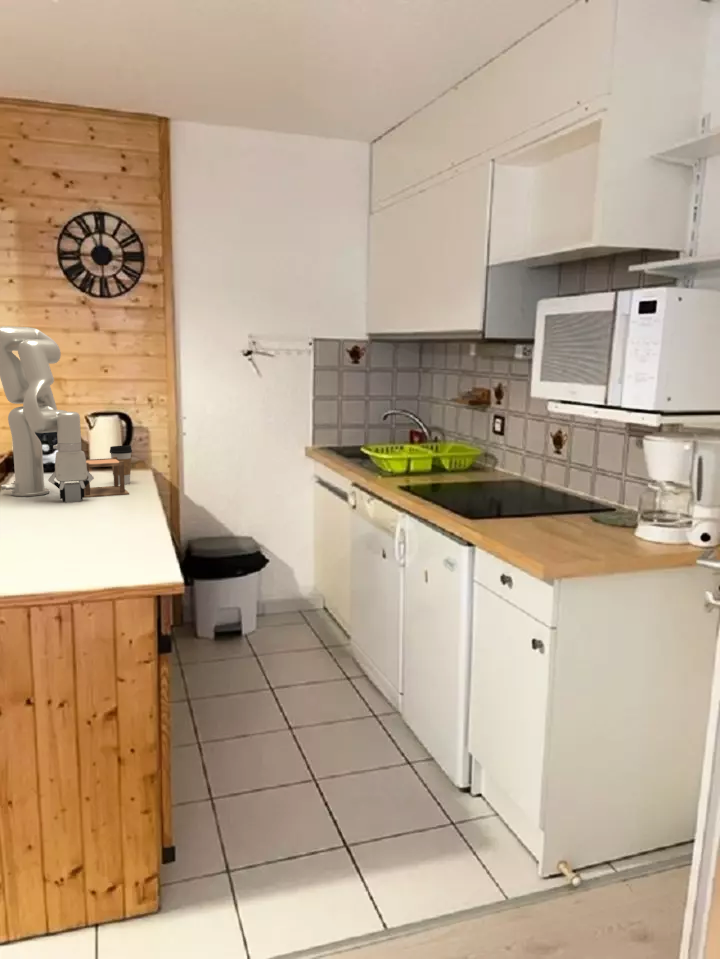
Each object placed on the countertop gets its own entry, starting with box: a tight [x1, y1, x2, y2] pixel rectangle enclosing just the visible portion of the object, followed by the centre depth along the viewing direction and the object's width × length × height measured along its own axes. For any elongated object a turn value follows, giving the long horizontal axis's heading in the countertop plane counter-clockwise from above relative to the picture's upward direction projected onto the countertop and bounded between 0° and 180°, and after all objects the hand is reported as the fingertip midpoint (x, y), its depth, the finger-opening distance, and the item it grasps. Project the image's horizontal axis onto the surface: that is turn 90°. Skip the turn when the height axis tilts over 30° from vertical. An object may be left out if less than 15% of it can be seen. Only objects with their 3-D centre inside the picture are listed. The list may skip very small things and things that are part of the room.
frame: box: [83, 457, 130, 499], centre depth 274 cm, size 18×17×12 cm
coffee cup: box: [109, 444, 133, 486], centre depth 294 cm, size 8×8×15 cm
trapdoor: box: [86, 458, 119, 464], centre depth 273 cm, size 18×10×3 cm, turn 117°
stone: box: [63, 481, 82, 504], centre depth 258 cm, size 5×5×6 cm
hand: (72, 499), depth 259 cm, fingers closed on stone, 5 cm apart
